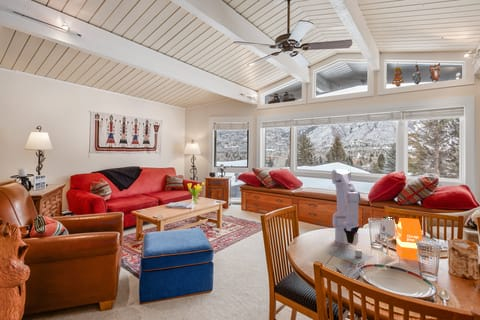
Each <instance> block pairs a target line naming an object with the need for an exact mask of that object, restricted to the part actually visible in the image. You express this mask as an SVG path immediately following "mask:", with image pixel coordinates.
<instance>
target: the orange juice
mask: <svg viewBox="0 0 480 320" xmlns="http://www.w3.org/2000/svg"><path fill="white" fill-rule="evenodd" d="M396 229H397V235H396V254H397V256H398V257H400V259H401V260H402V259H403V260H413V261H419V260H418V258H417V245H416V241H422V239H423V232H422V231H423V230H422V227H421V223H420V219H419V218H409V217H408V218H407V217H399V219H398V223H397V224H396ZM422 242H423V241H422Z"/></svg>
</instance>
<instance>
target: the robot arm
mask: <svg viewBox="0 0 480 320" xmlns="http://www.w3.org/2000/svg"><path fill="white" fill-rule="evenodd" d="M351 178H352V172H351V170H350V169H332V172H331V181H332V182H331V183H332V184H334V185H335V192H336V193H335V194H336V210H337V211H336V212H335V213H333V214H332V226H333V228H334V229H335V231H334V240H335V241H334V242H336V243H338V244H345V243H344V241H345V233H346V236H347V241H348V243H351V244H352V243H353V239H354V235H355V233H358V231H359V229H360V228H361V227H360V225H359V204H360V203H361V194H360V192H359V191H358V190H356V188H355V186H354V184H353V183H352V182H351Z"/></svg>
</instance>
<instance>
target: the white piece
mask: <svg viewBox="0 0 480 320" xmlns="http://www.w3.org/2000/svg"><path fill="white" fill-rule="evenodd" d="M343 244H345V245H351V246H355V247H356V246H357V245H358V244H359V233H358V232H357V233H355V235H354V239H353V243H352V244H351V243H348V241H347V236H346V233H345V241H344V243H343Z"/></svg>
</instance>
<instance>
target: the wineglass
mask: <svg viewBox="0 0 480 320" xmlns="http://www.w3.org/2000/svg"><path fill="white" fill-rule="evenodd" d="M378 229H379V233H378V234H379V235H380V236H381V237H382V239H384V240H386V252H383V254H384V255H387V256H389V257H393V258H397V257H396V255H394V254H392V253H389V242H390V241H392V240H394V239H395V238H397V224H396V221H395V218H393V217H390V216H383V217H381V220H380V225H379V228H378Z"/></svg>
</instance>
